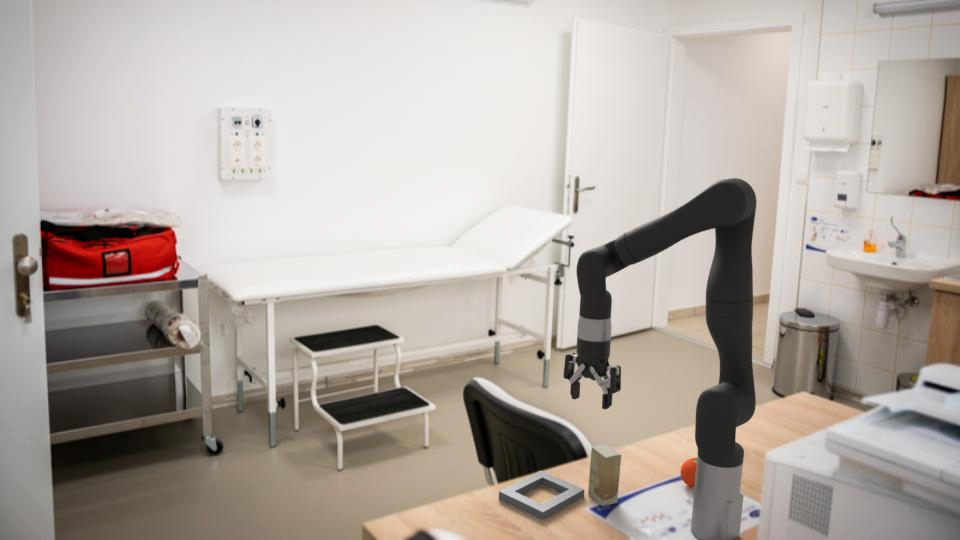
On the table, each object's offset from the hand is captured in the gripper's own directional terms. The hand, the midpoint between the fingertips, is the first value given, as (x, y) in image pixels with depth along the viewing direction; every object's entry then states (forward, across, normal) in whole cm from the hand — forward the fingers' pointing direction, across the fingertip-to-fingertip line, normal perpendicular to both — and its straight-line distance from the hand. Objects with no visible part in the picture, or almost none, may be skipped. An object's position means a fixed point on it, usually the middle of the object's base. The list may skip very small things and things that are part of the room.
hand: (590, 403), depth 181 cm
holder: (+22, +5, +10) cm, 25 cm away
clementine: (+22, -17, -21) cm, 35 cm away
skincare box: (+22, -5, 0) cm, 23 cm away
